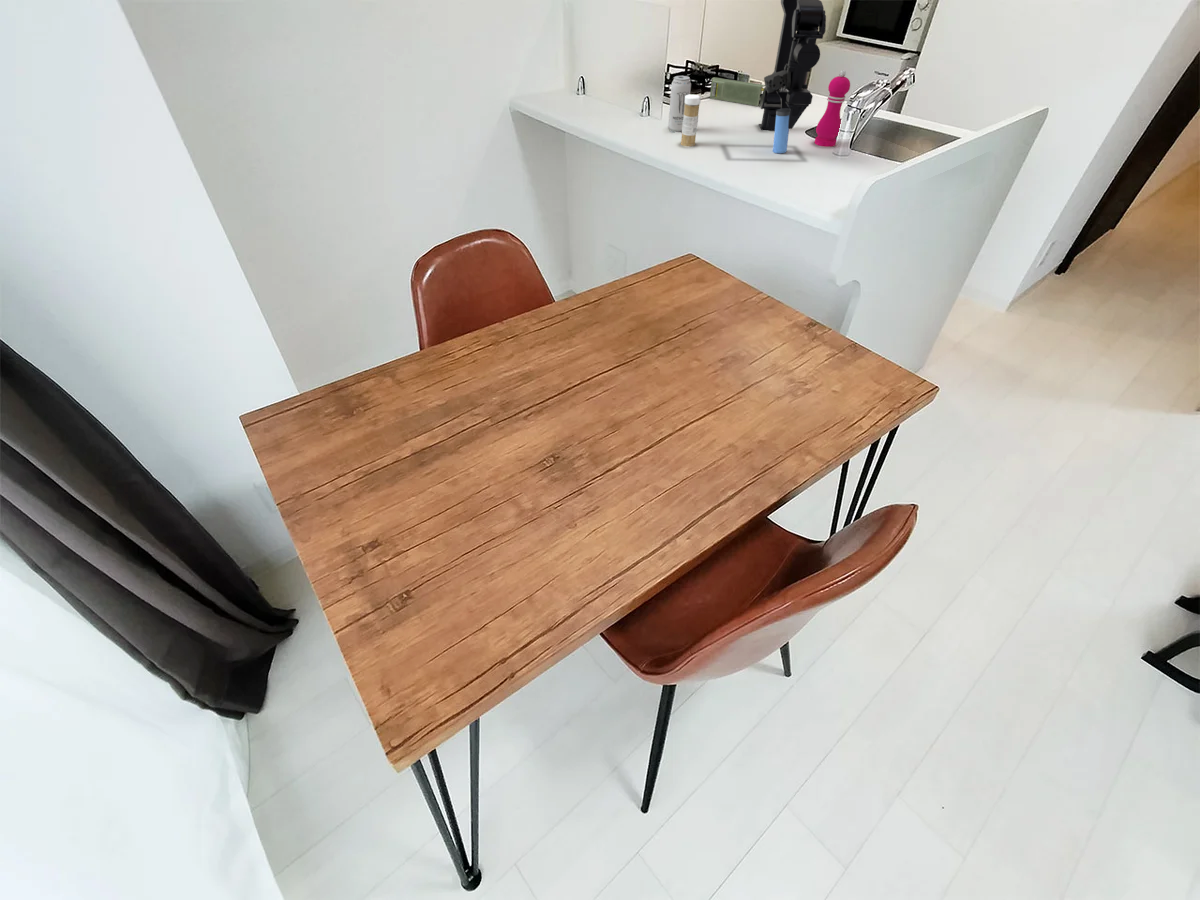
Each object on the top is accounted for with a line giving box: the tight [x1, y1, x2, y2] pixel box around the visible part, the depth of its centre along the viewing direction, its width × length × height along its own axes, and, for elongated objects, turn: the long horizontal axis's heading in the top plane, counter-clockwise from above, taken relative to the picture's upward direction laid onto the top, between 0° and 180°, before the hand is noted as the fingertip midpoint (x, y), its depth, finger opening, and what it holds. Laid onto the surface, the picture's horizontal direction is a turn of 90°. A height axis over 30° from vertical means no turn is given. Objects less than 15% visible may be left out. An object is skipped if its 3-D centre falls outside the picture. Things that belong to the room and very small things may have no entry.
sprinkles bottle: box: [680, 93, 702, 147], centre depth 180 cm, size 5×5×14 cm
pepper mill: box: [814, 69, 851, 148], centre depth 180 cm, size 7×7×20 cm
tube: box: [772, 108, 790, 154], centre depth 176 cm, size 4×11×4 cm
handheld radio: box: [709, 77, 766, 107], centre depth 219 cm, size 7×3×25 cm
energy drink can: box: [667, 75, 692, 134], centre depth 190 cm, size 6×6×15 cm
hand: (786, 124), depth 175 cm, fingers open, 9 cm apart
